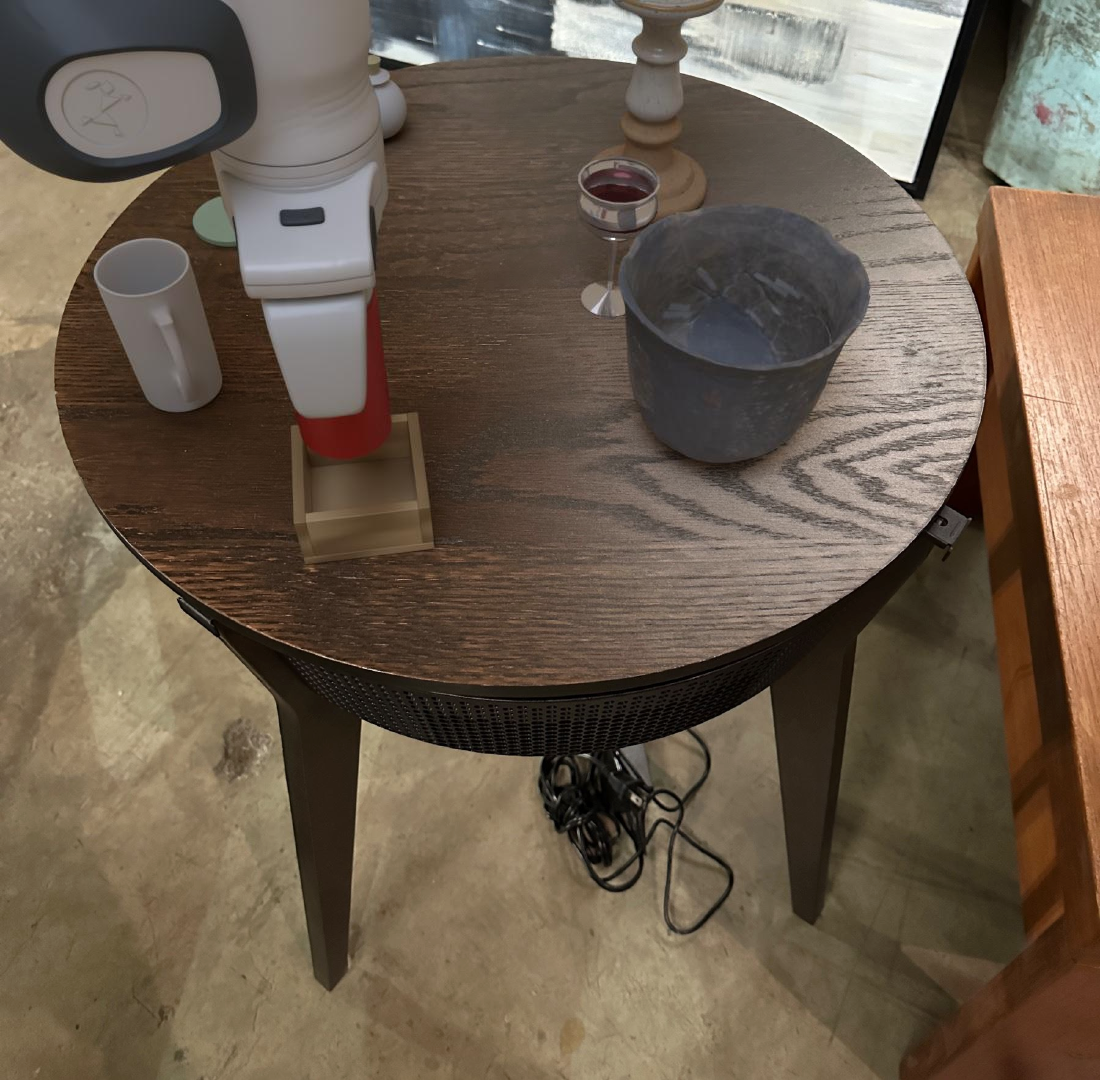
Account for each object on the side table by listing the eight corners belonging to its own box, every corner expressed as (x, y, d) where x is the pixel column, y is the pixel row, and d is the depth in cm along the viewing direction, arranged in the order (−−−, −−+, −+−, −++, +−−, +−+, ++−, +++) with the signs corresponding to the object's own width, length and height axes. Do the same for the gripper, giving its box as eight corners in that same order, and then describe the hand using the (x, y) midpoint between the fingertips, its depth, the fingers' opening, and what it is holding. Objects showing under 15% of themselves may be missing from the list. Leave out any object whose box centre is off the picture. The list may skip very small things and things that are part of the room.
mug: (132, 372, 85) (84, 252, 76) (212, 348, 87) (175, 228, 78) (164, 453, 80) (116, 335, 70) (248, 426, 82) (213, 307, 72)
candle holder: (579, 153, 106) (589, -55, 90) (697, 153, 107) (728, -54, 91) (586, 226, 99) (599, 13, 83) (713, 225, 99) (750, 14, 83)
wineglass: (566, 276, 94) (571, 158, 85) (639, 272, 95) (652, 154, 85) (576, 325, 90) (583, 207, 80) (652, 321, 91) (668, 202, 81)
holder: (305, 565, 74) (293, 523, 70) (301, 468, 79) (290, 425, 75) (434, 549, 75) (430, 507, 71) (422, 455, 80) (417, 411, 77)
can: (301, 464, 68) (270, 329, 59) (298, 398, 71) (269, 261, 62) (395, 454, 69) (379, 320, 59) (388, 389, 72) (372, 254, 63)
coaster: (192, 250, 95) (190, 244, 95) (195, 201, 100) (193, 196, 99) (276, 243, 96) (275, 237, 96) (275, 195, 100) (274, 190, 100)
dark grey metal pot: (845, 511, 78) (904, 364, 66) (614, 518, 77) (632, 370, 65) (797, 351, 89) (841, 200, 77) (594, 355, 88) (606, 203, 76)
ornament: (416, 145, 106) (407, 50, 98) (345, 158, 105) (331, 62, 97) (400, 115, 110) (390, 20, 102) (331, 127, 108) (316, 32, 100)
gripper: (242, 72, 60) (282, 265, 71) (240, 296, 48) (288, 488, 59) (351, 66, 61) (374, 258, 72) (375, 285, 49) (399, 476, 60)
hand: (335, 363), depth 65 cm, fingers closed on can, 6 cm apart
